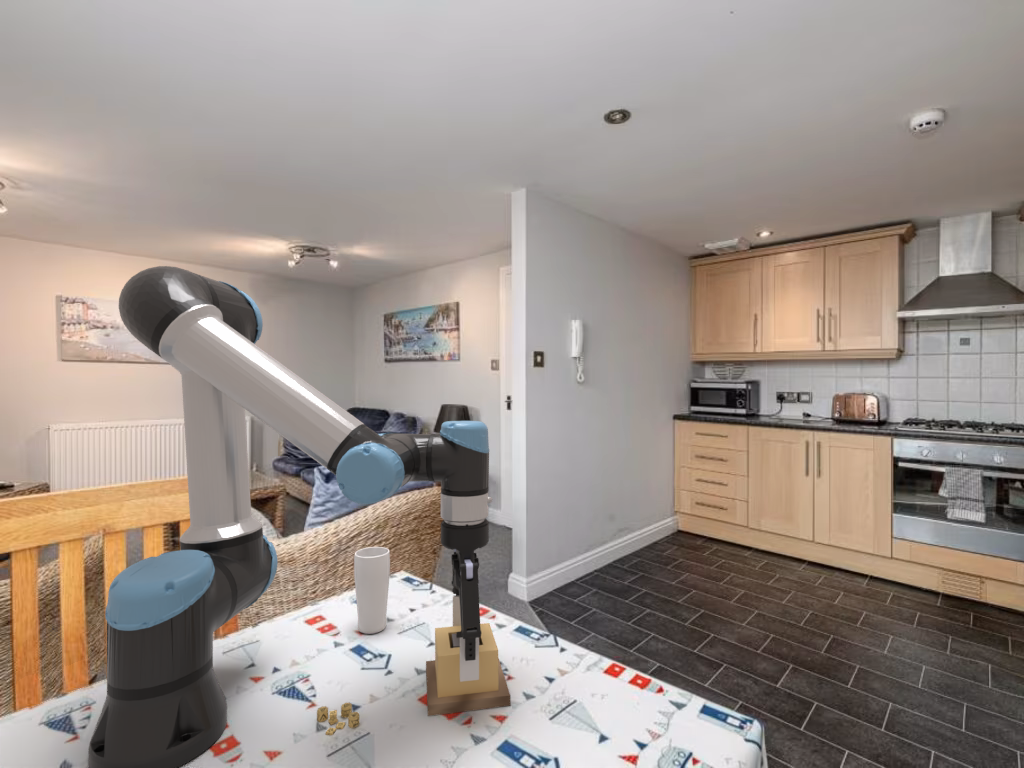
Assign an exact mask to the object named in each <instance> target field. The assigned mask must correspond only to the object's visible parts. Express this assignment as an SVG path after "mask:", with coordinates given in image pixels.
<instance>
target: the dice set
mask: <svg viewBox="0 0 1024 768" xmlns="http://www.w3.org/2000/svg"><path fill="white" fill-rule="evenodd" d="M340 717H341V718H343V719H347V718H348V719H347V720H348V723H347V726H348V727H349V728H351V729H354V728H356V727H358V726H359V724H360V712H358V711H353V704H352V703H351V702H344V703H343V704H341V706H340ZM316 721H317V722H319V723H323V722H325V721H327V722H328V724H330V726H332V725H335V724H336V726H335V727H330V726H329V727H328V728H327V730H326V731H325V735H326V736H333V735H334V734H335V732H336V731H337V730H343V729H344V727H345V726H346V722H345V721H339V719H338V710H337V709H334V710H330V711H329V707H328V706H326V705H325V706H321V707H318V708H317V711H316Z"/></svg>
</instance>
